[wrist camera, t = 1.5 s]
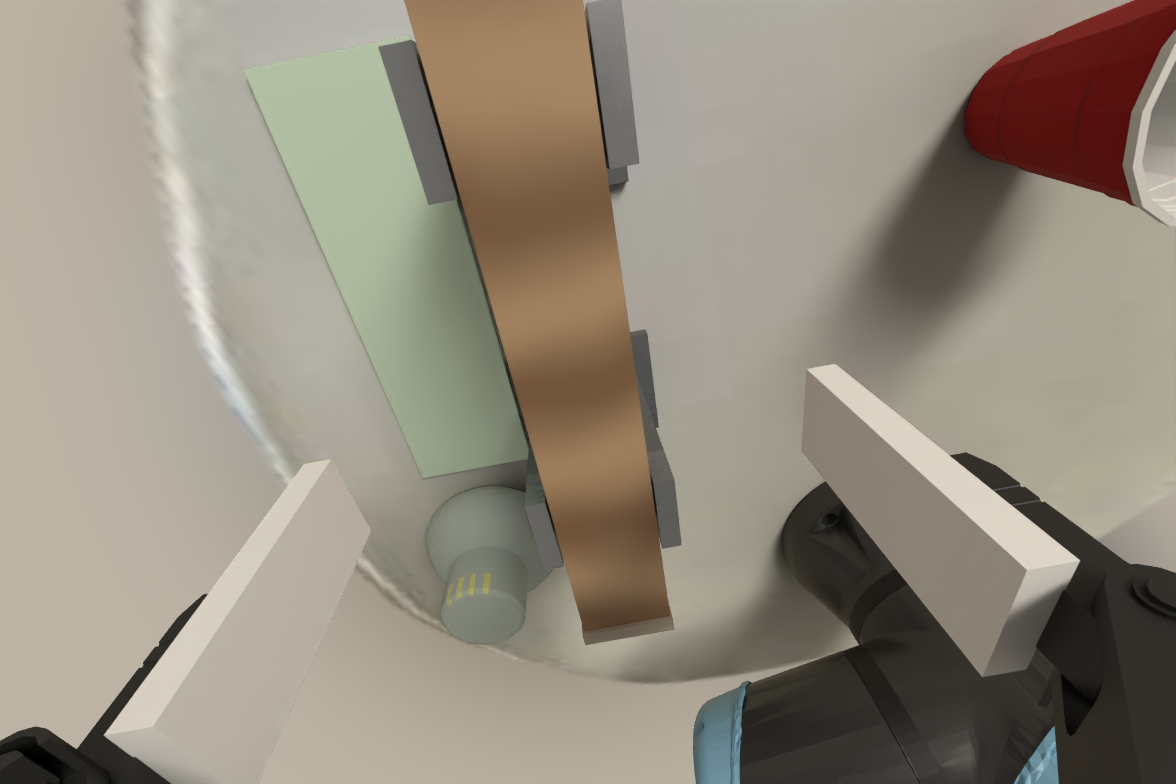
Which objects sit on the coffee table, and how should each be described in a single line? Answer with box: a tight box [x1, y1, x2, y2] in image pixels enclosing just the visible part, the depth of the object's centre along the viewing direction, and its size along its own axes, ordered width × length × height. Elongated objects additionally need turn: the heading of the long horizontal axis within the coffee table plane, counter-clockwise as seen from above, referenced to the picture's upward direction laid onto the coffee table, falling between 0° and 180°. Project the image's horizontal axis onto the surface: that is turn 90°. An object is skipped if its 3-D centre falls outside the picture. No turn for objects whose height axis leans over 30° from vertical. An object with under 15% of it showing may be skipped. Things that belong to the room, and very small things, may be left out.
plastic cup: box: [965, 0, 1176, 226], centre depth 23 cm, size 11×11×12 cm
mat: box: [243, 36, 529, 478], centre depth 32 cm, size 28×9×1 cm, turn 10°
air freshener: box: [426, 486, 553, 645], centre depth 37 cm, size 11×8×10 cm
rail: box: [404, 0, 674, 645], centre depth 19 cm, size 29×5×5 cm, turn 10°
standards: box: [378, 0, 681, 570], centre depth 25 cm, size 26×10×14 cm, turn 10°
